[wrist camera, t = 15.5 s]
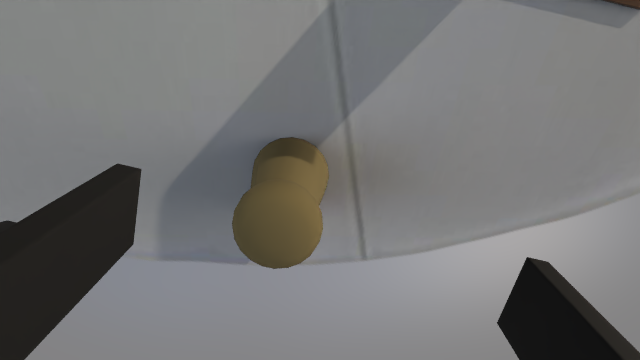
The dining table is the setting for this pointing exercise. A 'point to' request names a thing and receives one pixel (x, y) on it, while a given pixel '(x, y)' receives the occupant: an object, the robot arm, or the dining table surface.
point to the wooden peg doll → (282, 204)
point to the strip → (626, 3)
